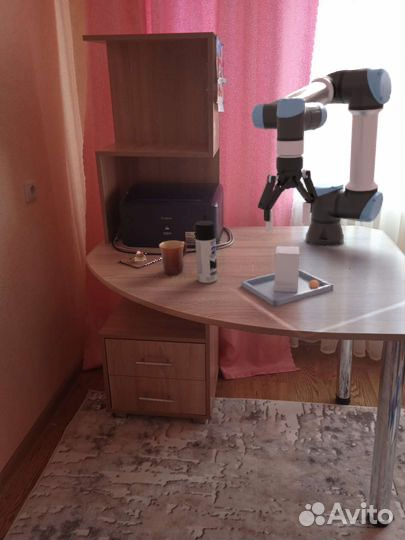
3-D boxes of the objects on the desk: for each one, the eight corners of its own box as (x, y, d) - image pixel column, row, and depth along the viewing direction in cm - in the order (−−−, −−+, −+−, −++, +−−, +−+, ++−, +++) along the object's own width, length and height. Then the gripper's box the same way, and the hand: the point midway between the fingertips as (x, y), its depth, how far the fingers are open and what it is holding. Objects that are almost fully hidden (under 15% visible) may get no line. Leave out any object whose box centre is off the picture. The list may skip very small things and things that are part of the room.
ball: (314, 287, 148) (314, 277, 146) (321, 290, 145) (321, 280, 144) (306, 289, 146) (306, 279, 145) (313, 292, 144) (313, 283, 142)
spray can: (213, 284, 155) (211, 226, 147) (194, 282, 157) (191, 224, 150) (219, 277, 160) (218, 220, 153) (201, 275, 163) (198, 219, 155)
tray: (296, 273, 160) (296, 267, 160) (332, 291, 146) (333, 284, 145) (241, 288, 151) (241, 281, 150) (274, 308, 136) (274, 301, 135)
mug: (175, 278, 161) (173, 250, 157) (156, 273, 166) (153, 246, 162) (196, 267, 170) (194, 240, 166) (177, 263, 175) (175, 236, 171)
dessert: (162, 261, 179) (162, 249, 178) (139, 270, 171) (137, 258, 169) (142, 255, 187) (140, 243, 185) (118, 263, 179) (116, 251, 177)
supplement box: (298, 292, 144) (299, 254, 139) (273, 291, 145) (274, 253, 141) (298, 283, 151) (299, 246, 146) (274, 282, 152) (275, 245, 148)
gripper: (315, 149, 141) (312, 218, 149) (245, 158, 131) (246, 231, 139) (332, 152, 135) (328, 223, 143) (260, 161, 125) (260, 238, 133)
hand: (288, 227), depth 141 cm, fingers open, 13 cm apart
